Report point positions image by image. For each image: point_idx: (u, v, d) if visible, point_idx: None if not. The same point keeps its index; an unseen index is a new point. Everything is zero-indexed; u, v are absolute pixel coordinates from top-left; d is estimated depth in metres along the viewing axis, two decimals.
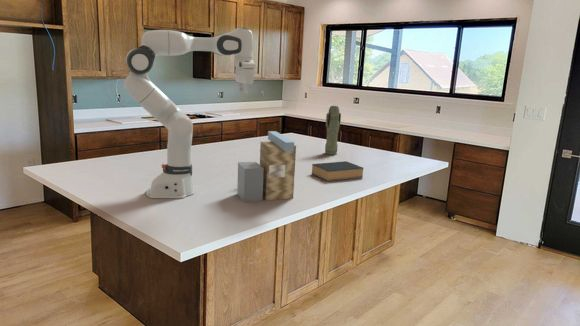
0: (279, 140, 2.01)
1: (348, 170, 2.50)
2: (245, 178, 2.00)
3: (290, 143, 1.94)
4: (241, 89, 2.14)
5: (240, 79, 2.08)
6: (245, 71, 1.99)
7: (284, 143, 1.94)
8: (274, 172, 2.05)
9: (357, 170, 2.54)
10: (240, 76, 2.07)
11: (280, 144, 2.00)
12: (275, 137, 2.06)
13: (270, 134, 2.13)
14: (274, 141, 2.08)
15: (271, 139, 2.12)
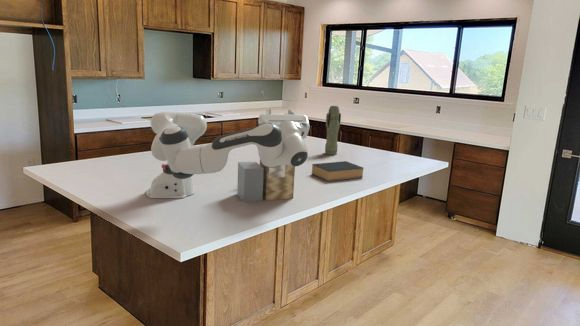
0: None
1: (348, 170, 2.50)
2: (245, 178, 2.00)
3: None
4: None
5: None
6: None
7: None
8: (274, 172, 2.05)
9: (357, 170, 2.54)
10: None
11: None
12: None
13: None
14: None
15: None
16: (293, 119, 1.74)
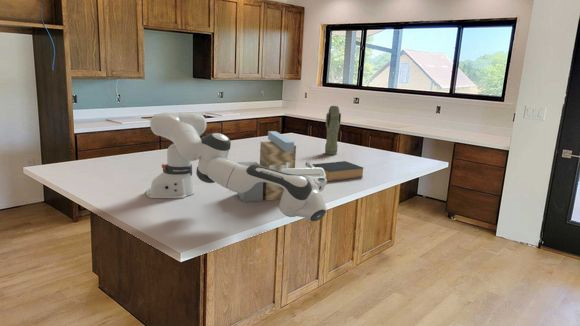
0: (279, 140, 2.01)
1: (348, 170, 2.51)
2: None
3: (290, 143, 1.94)
4: None
5: None
6: None
7: (284, 143, 1.94)
8: None
9: (357, 170, 2.54)
10: None
11: (280, 144, 2.00)
12: (275, 137, 2.06)
13: (270, 134, 2.13)
14: (274, 141, 2.08)
15: (271, 139, 2.12)
16: (311, 173, 1.84)
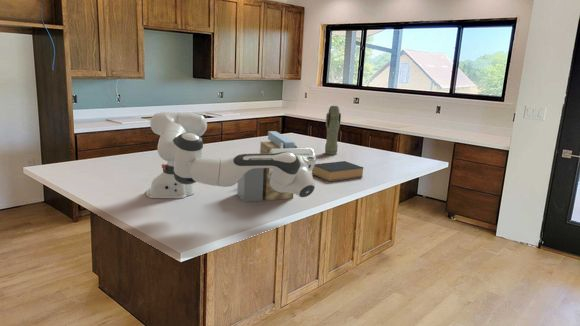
0: (279, 140, 2.01)
1: (349, 170, 2.51)
2: (245, 178, 2.00)
3: (290, 143, 1.94)
4: None
5: None
6: None
7: (284, 143, 1.94)
8: None
9: (357, 170, 2.54)
10: None
11: None
12: (275, 137, 2.06)
13: (270, 134, 2.13)
14: (274, 141, 2.08)
15: (271, 139, 2.12)
16: (301, 153, 1.91)
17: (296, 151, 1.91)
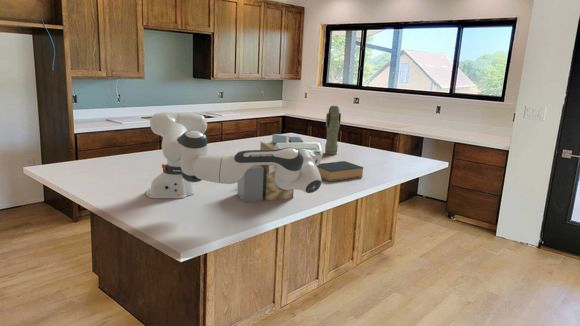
0: (284, 138, 1.95)
1: (349, 170, 2.51)
2: (245, 178, 2.00)
3: (295, 138, 1.87)
4: None
5: None
6: None
7: None
8: (274, 172, 2.05)
9: (357, 170, 2.55)
10: None
11: (285, 141, 1.93)
12: (280, 136, 2.00)
13: (274, 136, 2.08)
14: (279, 141, 2.02)
15: (275, 140, 2.06)
16: (307, 147, 1.84)
17: (302, 145, 1.84)
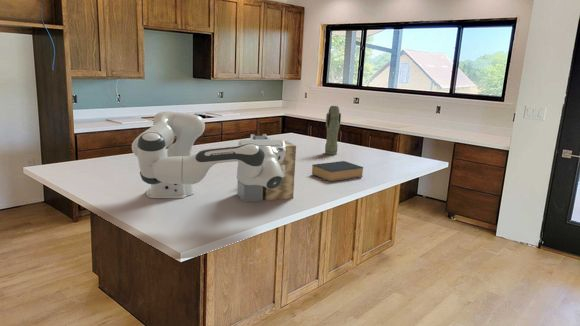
0: None
1: (349, 170, 2.51)
2: None
3: (260, 136, 1.90)
4: None
5: None
6: None
7: None
8: None
9: (357, 170, 2.55)
10: None
11: None
12: None
13: None
14: None
15: None
16: (270, 144, 1.87)
17: (266, 142, 1.87)
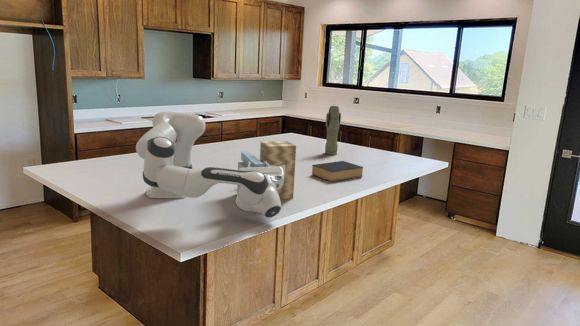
0: None
1: (349, 170, 2.51)
2: None
3: (259, 165, 1.92)
4: None
5: None
6: None
7: (253, 165, 1.93)
8: None
9: (357, 169, 2.55)
10: None
11: None
12: (246, 158, 2.05)
13: (243, 155, 2.12)
14: (246, 162, 2.06)
15: (243, 160, 2.11)
16: (269, 171, 1.90)
17: (265, 170, 1.90)
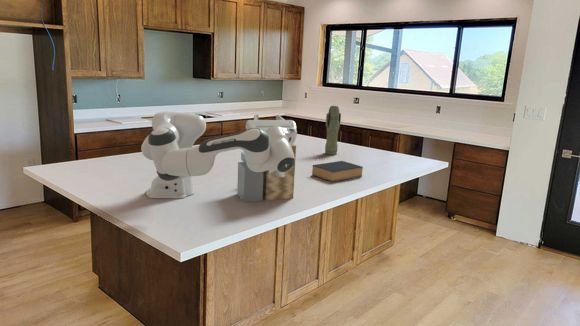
0: None
1: (350, 170, 2.51)
2: (245, 178, 2.00)
3: None
4: None
5: None
6: None
7: None
8: (274, 172, 2.05)
9: (357, 169, 2.56)
10: None
11: None
12: None
13: (243, 155, 2.12)
14: None
15: (243, 160, 2.11)
16: (281, 125, 1.74)
17: (275, 123, 1.74)
